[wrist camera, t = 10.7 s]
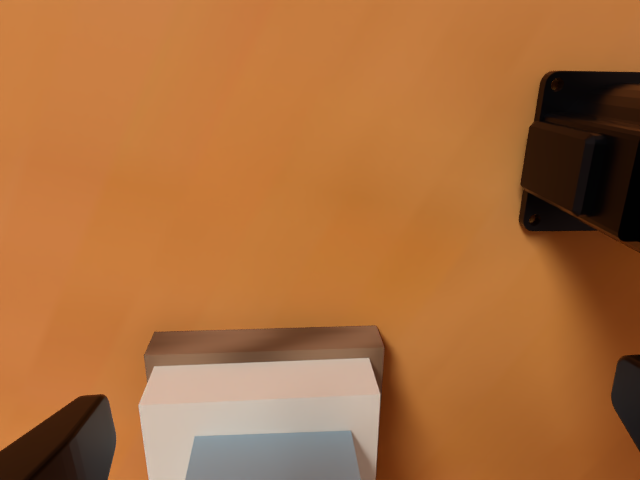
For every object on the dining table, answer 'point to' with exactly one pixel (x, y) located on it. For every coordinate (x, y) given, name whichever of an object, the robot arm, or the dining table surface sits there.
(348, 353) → the tower bottom
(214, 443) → the slate block
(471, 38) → the dining table surface
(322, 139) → the dining table surface
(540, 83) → the robot arm
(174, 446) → the tower top
